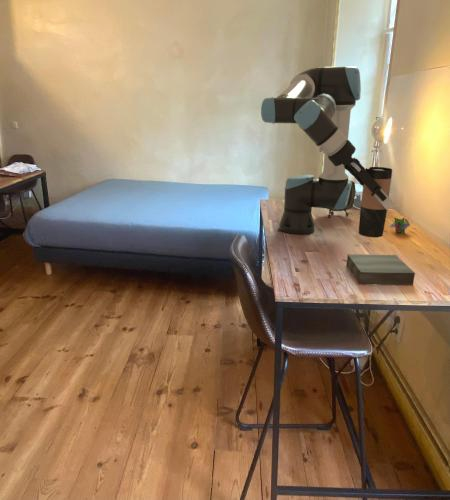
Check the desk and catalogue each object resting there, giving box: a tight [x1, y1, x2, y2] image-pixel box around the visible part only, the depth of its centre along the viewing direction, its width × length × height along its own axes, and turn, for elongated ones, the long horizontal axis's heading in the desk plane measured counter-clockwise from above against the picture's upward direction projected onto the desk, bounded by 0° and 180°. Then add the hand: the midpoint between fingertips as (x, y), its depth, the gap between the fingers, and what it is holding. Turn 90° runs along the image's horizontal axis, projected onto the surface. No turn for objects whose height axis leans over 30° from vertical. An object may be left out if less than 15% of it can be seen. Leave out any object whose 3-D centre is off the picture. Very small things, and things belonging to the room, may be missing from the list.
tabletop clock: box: [325, 179, 356, 219], centre depth 204 cm, size 14×9×25 cm, turn 114°
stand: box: [346, 253, 416, 286], centre depth 135 cm, size 16×16×4 cm
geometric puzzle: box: [389, 217, 411, 235], centre depth 180 cm, size 7×7×8 cm
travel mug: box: [358, 166, 393, 238], centre depth 128 cm, size 8×8×20 cm
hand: (386, 203), depth 128 cm, fingers closed on travel mug, 7 cm apart
